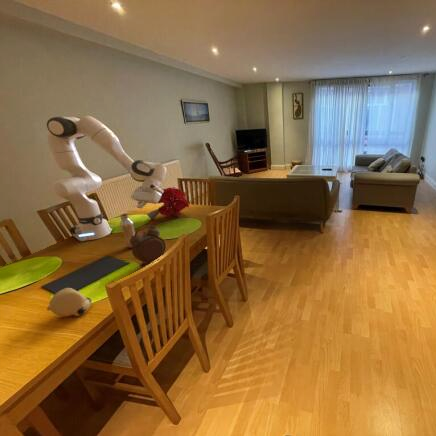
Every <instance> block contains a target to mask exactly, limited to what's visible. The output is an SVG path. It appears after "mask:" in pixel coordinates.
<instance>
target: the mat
mask: <svg viewBox="0 0 436 436" xmlns="http://www.w3.org/2000/svg"><path fill="white" fill-rule="evenodd" d="M127 265H129V261H128V262H127V261H124V260H121V259H119V258H115V257H112V256H109V255H105V256H104V257H101V258H99V259H97V260H95V261H92V262H91V263H89V264H86V265H84V266H82V267H79V268H78V269H75V270H74V271H71V272H69V273H67V274H66V275H63V276H60V277H58V278H56V279H54V280H52V281H50V282H48V283H46V284H44V285H41V288H43V289H45V290H48V291H49V292H51V293H53V294H54V295H55V294H56V293H57V292H59V291H61V290H63V289H65V288H72V289H74V290H76V291H78V292H79V291H80V290H82V289H83V288H85V287H87V286H89V285H91V284H93V283H94V282H96V281H98V280H100V279H102V278H104V277H106V276H108V275H110V274H112V273H113V272H116V271H117V270H119V269H121V268H123V267H125V266H127Z"/></svg>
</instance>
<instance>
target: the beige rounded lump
mask: <svg viewBox="0 0 436 436" xmlns="http://www.w3.org/2000/svg"><path fill="white" fill-rule="evenodd" d="M92 300H93V299H91V298H90V297H86V296H85V295H84V294H82V293H81V292H79V290H78V291H76V290H74V289H72V288H65V289H63V290H61V291H59V292H57V293H56V294H55V293H54V294H53V296H52V297H51V298H50V300H49V304H48V306H47V307H46V310H47V311H51V312H52V314H54V315H56V316H57V317H58V318H59V319H63V317H71V316H74V317H79V316H81V315H83V314H85V313H86V312H87V311H88V310H89V309H90V307H91V306H92V305H91V303H93V301H92Z"/></svg>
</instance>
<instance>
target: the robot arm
mask: <svg viewBox="0 0 436 436" xmlns="http://www.w3.org/2000/svg"><path fill="white" fill-rule="evenodd" d="M46 129H47V130H48V133H47V134H46V142H47V146H48V148H49V150H50V153H51V156H52V157H53V160H54V162H55V164H56V166H57V167H58V169H61V170H63V171H67V172H68V173H69V174H70V175H71V176H69V177H68V176H67V177H64V178H61V179H58V180H57V181H55V182H53V184H52V186H51V187H52V191H53V193H54V194H55V195H56V196H57V197H59V198H61V199H65V200H67V201H68V202H69V203H70V204H71V205H72V206H73V208H74V210H75V212H76V215H77V221H78V223H77V224H74V225H73V226H71V227H70V228H69V232H70V234H72V236H73V237H74V238H75V239H77V241H79V242H85V241H94V240H98V239H102V238H104V237H106V236H109V235H110V234H111V232H112V231H113V228H112V227H110V225H109V223H108V220H107V218H106V219H105V218H104V215H103V213H102V212H101V209H100V206H99V204H98V202H97V200H95V199H93V198H89V197H88V196H87V194H88V193H91V192H94V191H96V190H98V189H100V188H101V187H102V185H103V181H102V178H101V177H100V175H98V174H96V173H93V172H92V171H91V170H89V169H88V168H87V166H85V164H84V162H83V161H82V159H81V156H80V154H79V152H78V150H77V147H76V144H75V140H80V139H82V138H84V137H87V138H88V139H89V140H90V141H91V142H93V143H94V144H95V145H97V146H98V147H99V148H100V149H102V150H103V151H105V152H106V153H107V154H109V155H110V156H111V157H112V158H113V159H115V160H116V161H117V162H118V163H119V164H120V165H122V166H123V167H124V168H125V169H126V170H127V171H128V172H129V174H130V176H131V178H132V179H133V180H134V181H136V182H138V183H141V184H142V185H140V186H137V187H136V188H135V189H134V191H133V192H132V193H131V195H130V199H131V200H133V201H135V202H137V205H136V208H137V209H142V210H143V209H144V207H145V206H146V205H147V204H152V205H153V204H154V205H157V204H159V203H158V202H159V200H160V198H161V196H162V194H163V192H164V191H163V188H161V184H163V182H164V180H165V178H166V175H167V174H168V173H167V172H168V171H167V167H166V166H165V165H164V164H162V163H160V162H150V161H145V160H142V159H137V160H133V158H132V157H130V156H129V155H128V154H127V153H126V152H125V150H124V149H123V147H122V144H121V142H120V140H119V138H118V136H117V135H116V134H115V133H114V132H113V131H112V130H111V129H110V128H109V127H107V126H106V125H105V124H104V123H103V122H101V121H100V120H98V119H97V118H95V117H93V116H91V115H85V116H84V115H83V116H82V117H78V116H70V115H69V116H67V115H66V116H53V117H51V118H49V119H48V120H47V121H46Z"/></svg>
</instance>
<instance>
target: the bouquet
mask: <svg viewBox="0 0 436 436" xmlns="http://www.w3.org/2000/svg"><path fill="white" fill-rule="evenodd" d="M162 190H163V191H164V192H163V194H162V196H161V198H160V200H159V202H158V203H157V204H162V205H161V206H159V207H158V208H157V209H154V210H152V211H150V212H148V213H146V215H147V217H148V218H149V219H150V220H154V219H155V218H157V216H158V215H159V214H160V215H162V216H164V217H170V216H175V217H176V218H178V216H180V214H181V212H182V211H183V210H185V209H186V208H190V204H189V202H188V199H187V195H186V193H185V192H184V191H182V190H180V189H179V188H176V187H175V186H173V187H167V188H162Z"/></svg>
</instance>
